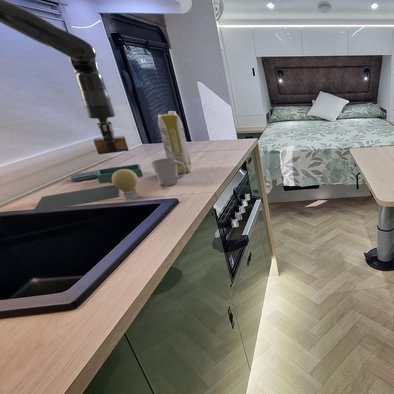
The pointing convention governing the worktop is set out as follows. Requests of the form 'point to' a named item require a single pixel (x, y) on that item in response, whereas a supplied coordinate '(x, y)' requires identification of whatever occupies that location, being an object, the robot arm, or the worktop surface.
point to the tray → (106, 174)
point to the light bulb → (126, 183)
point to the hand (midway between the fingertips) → (113, 150)
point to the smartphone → (84, 176)
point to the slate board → (76, 198)
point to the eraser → (118, 141)
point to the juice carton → (174, 140)
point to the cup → (167, 171)
